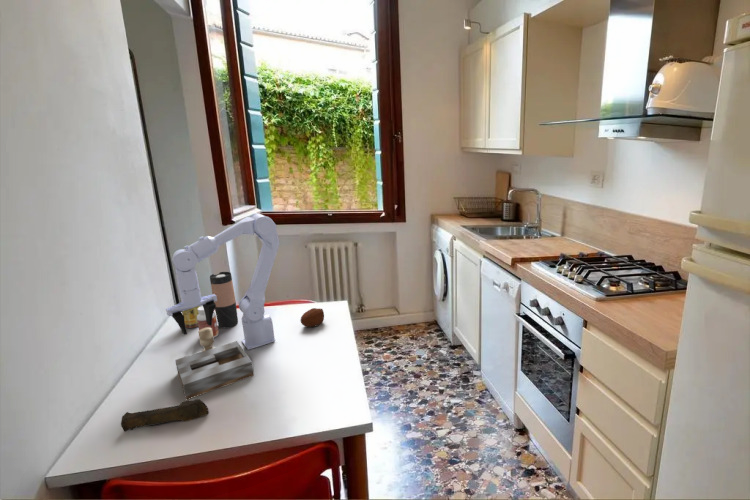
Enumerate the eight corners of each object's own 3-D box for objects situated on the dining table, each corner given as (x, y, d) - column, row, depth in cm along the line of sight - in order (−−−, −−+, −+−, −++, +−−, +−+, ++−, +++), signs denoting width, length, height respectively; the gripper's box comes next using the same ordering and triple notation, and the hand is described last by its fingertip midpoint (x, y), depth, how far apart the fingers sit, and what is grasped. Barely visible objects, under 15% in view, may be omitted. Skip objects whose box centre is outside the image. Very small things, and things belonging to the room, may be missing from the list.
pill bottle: (220, 336, 136) (215, 308, 133) (202, 342, 133) (196, 312, 130) (216, 330, 141) (212, 302, 138) (199, 335, 138) (193, 307, 135)
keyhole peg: (216, 350, 126) (211, 325, 124) (219, 356, 122) (215, 330, 120) (200, 355, 124) (195, 329, 121) (203, 361, 120) (198, 335, 117)
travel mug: (234, 328, 142) (226, 277, 137) (214, 329, 142) (205, 278, 137) (241, 319, 149) (234, 271, 144) (222, 320, 150) (214, 272, 145)
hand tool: (121, 435, 89) (117, 418, 88) (129, 423, 93) (125, 407, 92) (206, 422, 92) (202, 406, 91) (210, 412, 96) (207, 396, 95)
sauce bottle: (180, 328, 144) (171, 279, 139) (192, 321, 150) (183, 273, 145) (195, 329, 143) (186, 279, 138) (206, 322, 149) (197, 274, 144)
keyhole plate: (238, 353, 123) (236, 340, 122) (253, 375, 110) (251, 361, 109) (177, 373, 114) (175, 359, 112) (186, 399, 101) (183, 384, 100)
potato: (328, 325, 140) (327, 309, 138) (304, 332, 136) (302, 315, 134) (321, 319, 146) (320, 303, 144) (298, 325, 142) (296, 309, 140)
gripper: (207, 279, 123) (214, 317, 127) (159, 292, 114) (168, 333, 117) (216, 283, 118) (223, 323, 122) (167, 297, 109) (176, 340, 112)
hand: (197, 328), depth 119 cm, fingers open, 7 cm apart
